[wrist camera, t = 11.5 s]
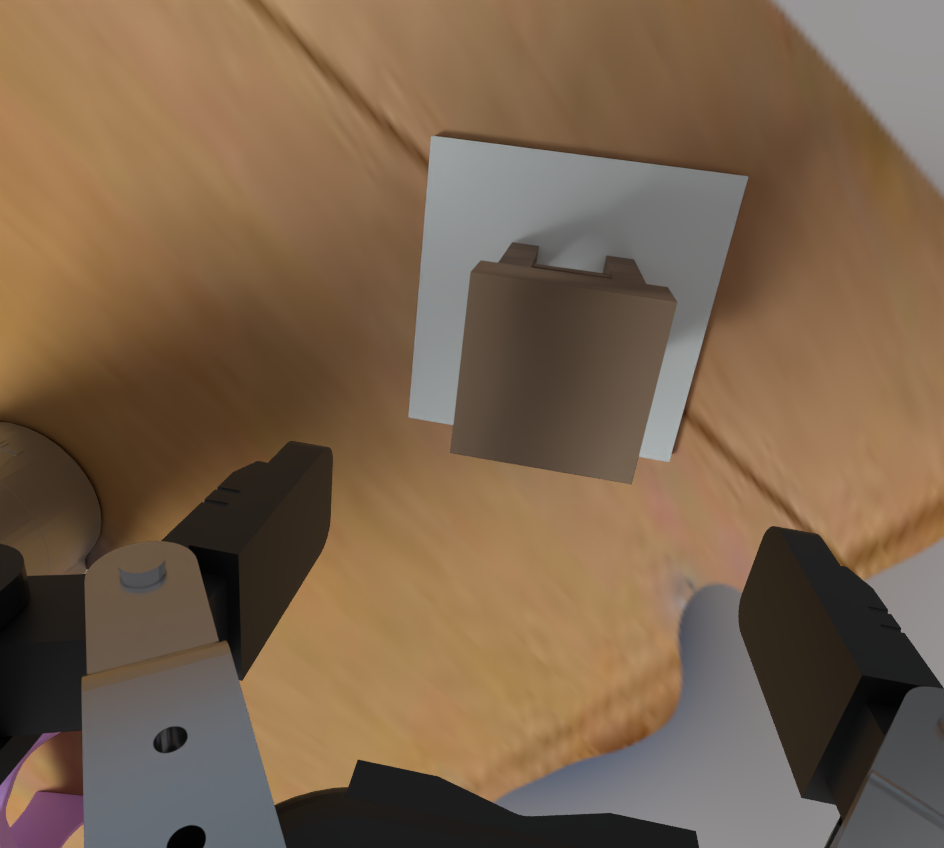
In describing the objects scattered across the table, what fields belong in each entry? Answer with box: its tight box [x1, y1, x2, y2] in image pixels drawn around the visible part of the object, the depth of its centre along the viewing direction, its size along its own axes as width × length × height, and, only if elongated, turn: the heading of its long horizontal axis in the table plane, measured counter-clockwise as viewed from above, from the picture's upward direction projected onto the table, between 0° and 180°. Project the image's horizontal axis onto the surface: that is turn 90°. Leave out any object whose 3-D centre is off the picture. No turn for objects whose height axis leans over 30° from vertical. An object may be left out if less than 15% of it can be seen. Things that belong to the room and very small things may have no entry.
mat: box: [408, 136, 748, 462], centre depth 27 cm, size 12×12×1 cm
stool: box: [450, 242, 677, 484], centre depth 22 cm, size 6×6×9 cm
